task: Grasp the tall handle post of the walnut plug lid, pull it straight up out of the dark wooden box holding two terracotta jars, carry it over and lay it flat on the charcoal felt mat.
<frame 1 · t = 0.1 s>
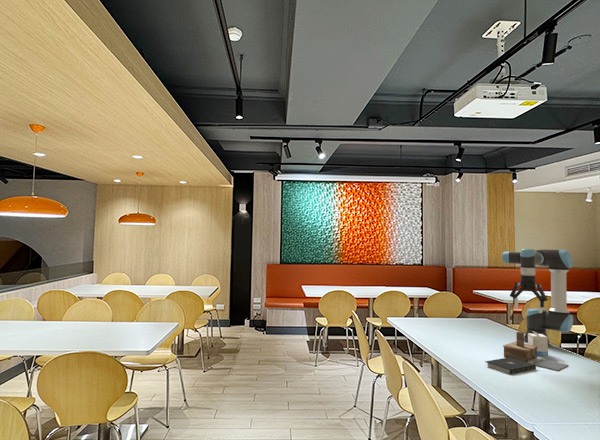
hand: (528, 311, 225), 28 cm above the table, fingers open, 13 cm apart
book: (510, 369, 206), on the table
lid: (520, 348, 226), point 5 cm above the table, touching crate
ink box: (537, 354, 235), on the table
crate: (520, 357, 226), on the table
mat: (549, 365, 212), on the table
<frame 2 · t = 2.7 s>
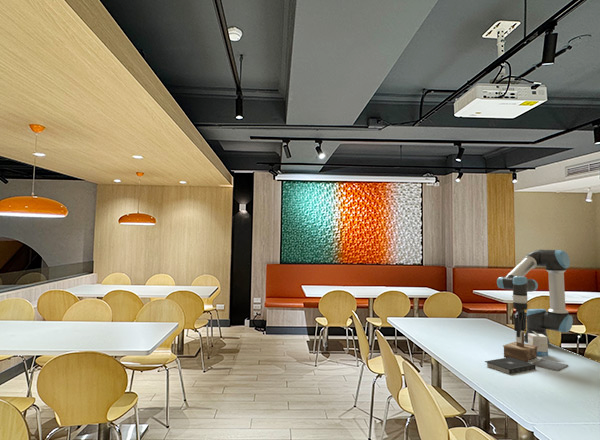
hand: (520, 342, 227), 9 cm above the table, fingers closed on lid, 3 cm apart
lid: (520, 348, 226), point 5 cm above the table, touching crate, gripper
everything else where it was.
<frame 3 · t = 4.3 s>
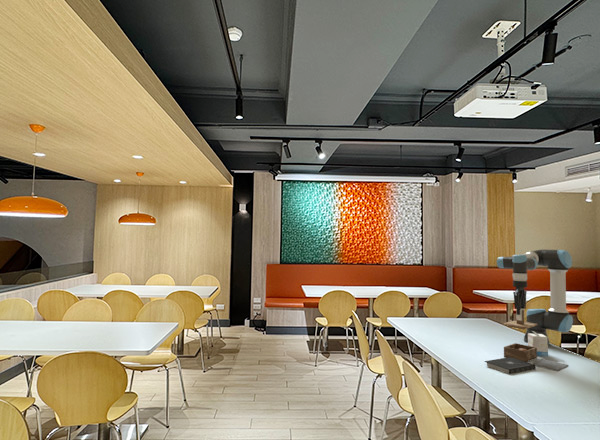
hand: (520, 319, 228), 22 cm above the table, fingers closed on lid, 3 cm apart
lid: (520, 326, 227), point 18 cm above the table, touching gripper
everything else where it was.
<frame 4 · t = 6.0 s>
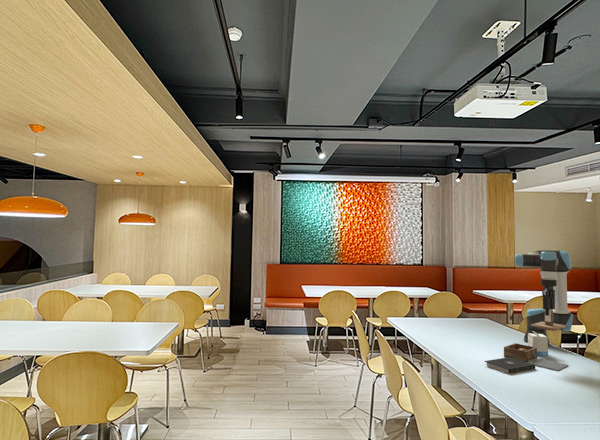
hand: (549, 320, 214), 24 cm above the table, fingers closed on lid, 3 cm apart
lid: (549, 328, 214), point 20 cm above the table, touching gripper
everything else where it was.
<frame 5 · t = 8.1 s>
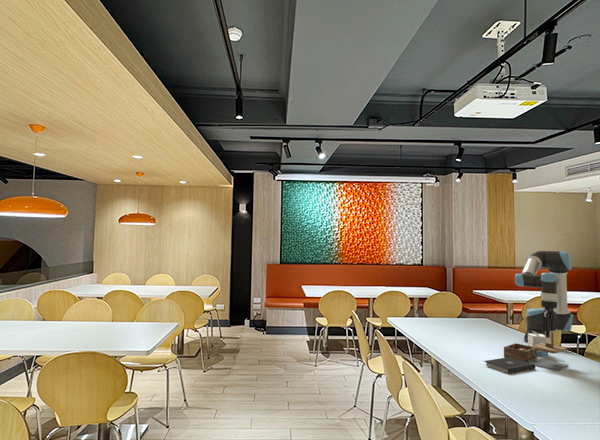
hand: (549, 342, 213), 12 cm above the table, fingers closed on lid, 3 cm apart
lid: (549, 350, 213), point 8 cm above the table, touching gripper
everything else where it was.
when the fingers open (6 cm above the table, at t = 9.6 s): lid drops 1 cm, resting on mat.
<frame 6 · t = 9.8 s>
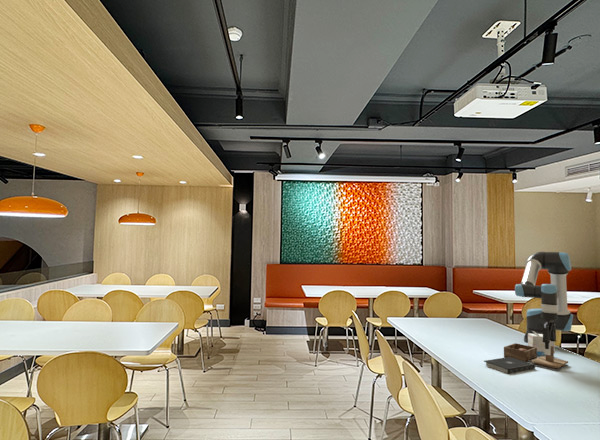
hand: (549, 353, 213), 6 cm above the table, fingers open, 5 cm apart
lid: (549, 364, 212), point 1 cm above the table, touching mat
everything else where it was.
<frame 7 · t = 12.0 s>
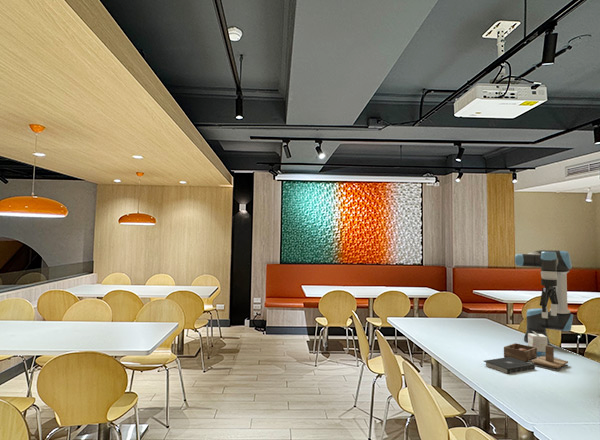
hand: (549, 316, 214), 27 cm above the table, fingers open, 13 cm apart
nothing on the table moved.
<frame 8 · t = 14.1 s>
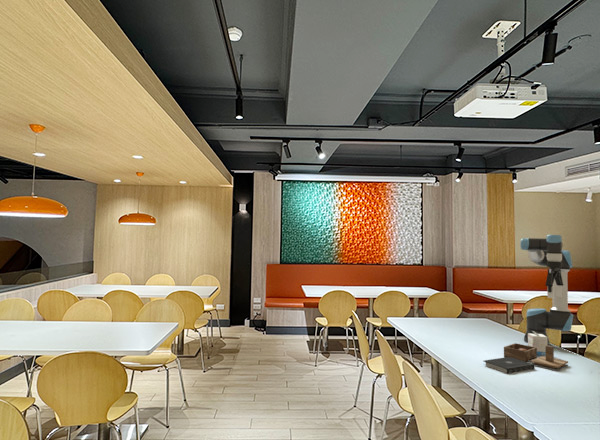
hand: (554, 297, 223), 37 cm above the table, fingers open, 13 cm apart
at the end: lid inside the target area (0.1 cm from its centre), point 0.6 cm above the table; lid tilted 0°; the gripper is holding nothing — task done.
